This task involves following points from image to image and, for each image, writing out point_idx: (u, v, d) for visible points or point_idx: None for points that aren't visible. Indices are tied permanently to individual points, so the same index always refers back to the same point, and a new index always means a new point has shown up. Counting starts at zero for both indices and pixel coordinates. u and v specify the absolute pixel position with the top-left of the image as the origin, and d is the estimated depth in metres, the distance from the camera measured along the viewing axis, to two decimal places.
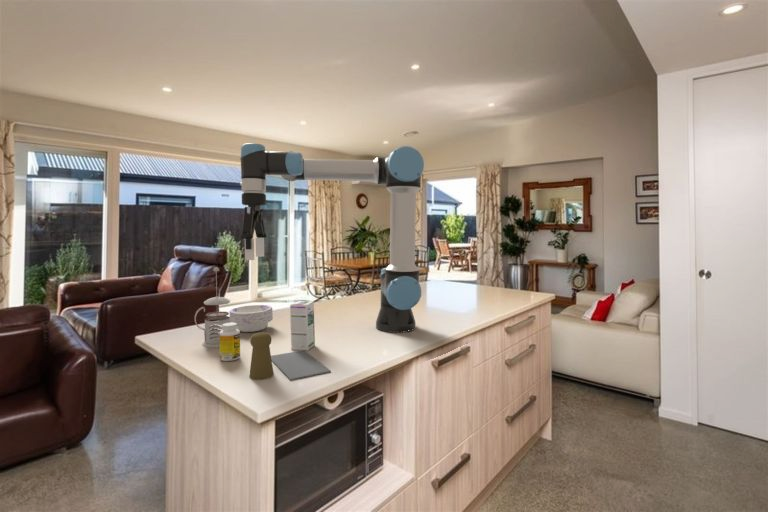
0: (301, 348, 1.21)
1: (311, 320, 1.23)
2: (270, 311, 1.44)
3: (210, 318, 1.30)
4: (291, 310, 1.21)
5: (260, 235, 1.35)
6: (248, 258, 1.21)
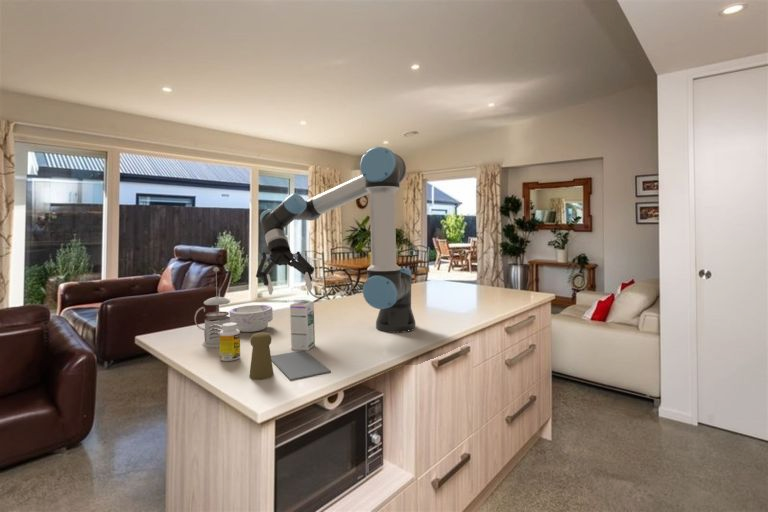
0: (301, 348, 1.21)
1: (311, 320, 1.23)
2: (270, 311, 1.44)
3: (210, 318, 1.30)
4: (291, 310, 1.21)
5: (306, 272, 1.39)
6: (269, 291, 1.28)
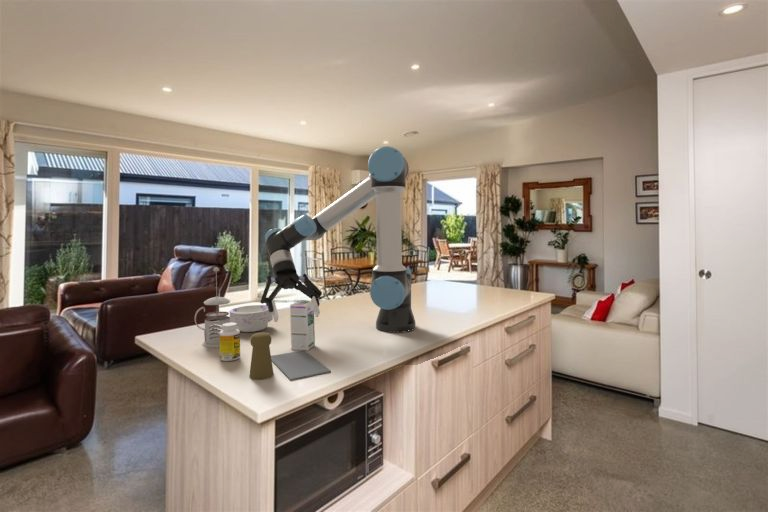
0: (301, 348, 1.21)
1: (311, 320, 1.23)
2: None
3: (210, 318, 1.30)
4: (291, 310, 1.21)
5: (313, 296, 1.32)
6: (274, 319, 1.21)
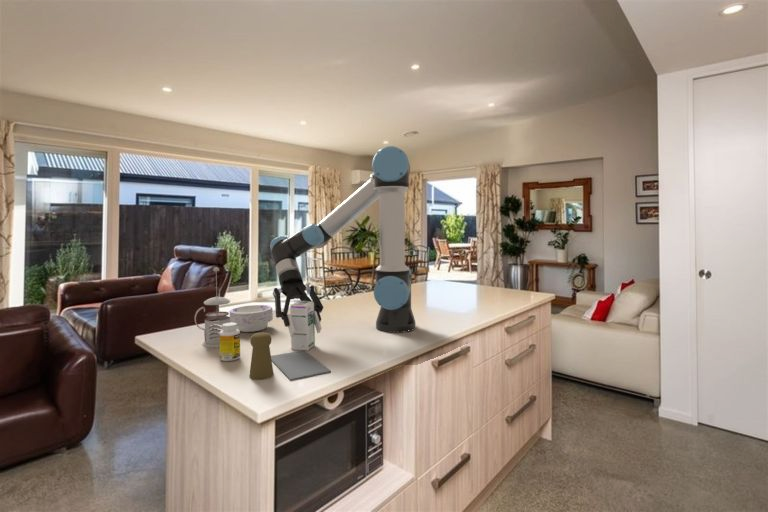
0: (301, 348, 1.21)
1: (311, 320, 1.23)
2: (270, 311, 1.44)
3: (210, 318, 1.30)
4: (291, 310, 1.21)
5: (314, 311, 1.27)
6: (291, 333, 1.18)
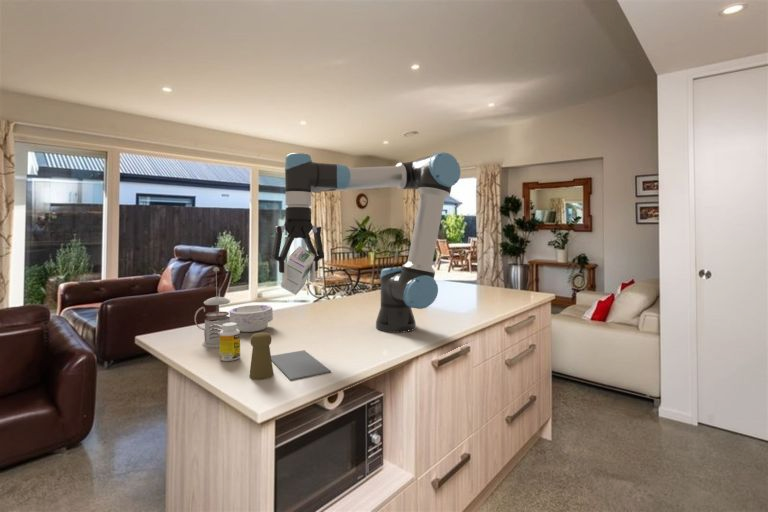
0: (290, 291, 1.21)
1: (307, 272, 1.18)
2: (270, 311, 1.44)
3: (210, 318, 1.30)
4: (289, 261, 1.13)
5: None
6: (283, 282, 1.15)
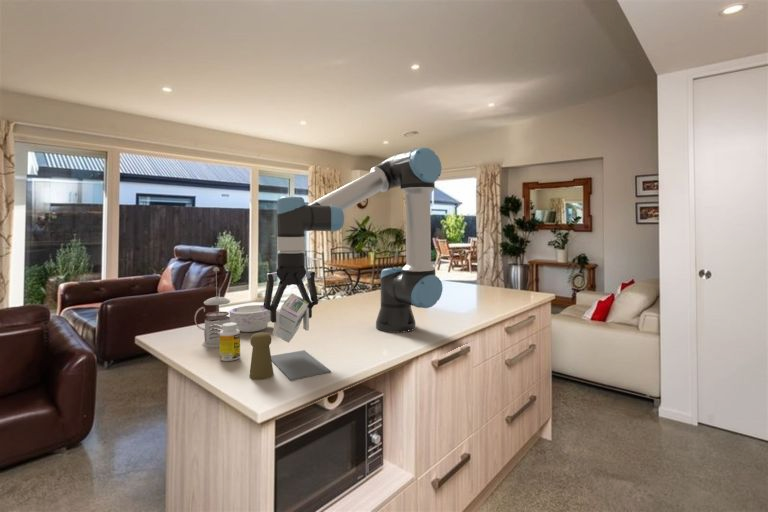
0: (282, 338, 1.15)
1: (300, 319, 1.12)
2: None
3: (210, 318, 1.30)
4: (281, 310, 1.07)
5: None
6: (275, 331, 1.09)
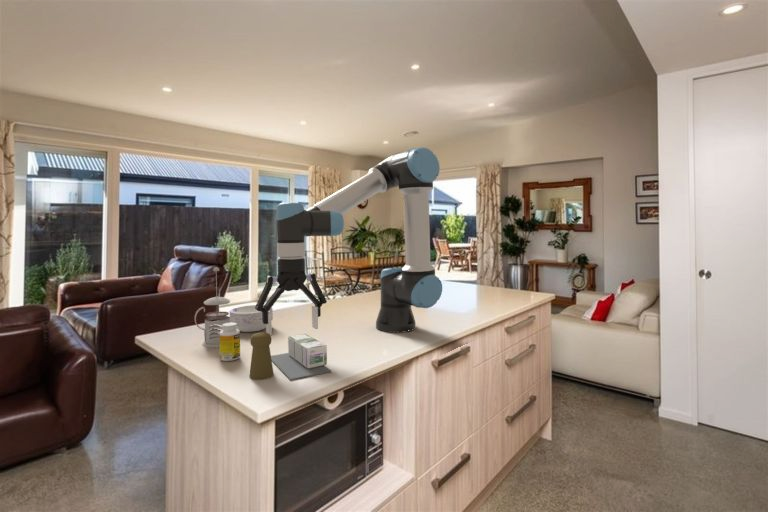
0: (288, 348, 1.14)
1: None
2: (270, 311, 1.44)
3: (210, 318, 1.30)
4: (304, 348, 1.04)
5: None
6: None
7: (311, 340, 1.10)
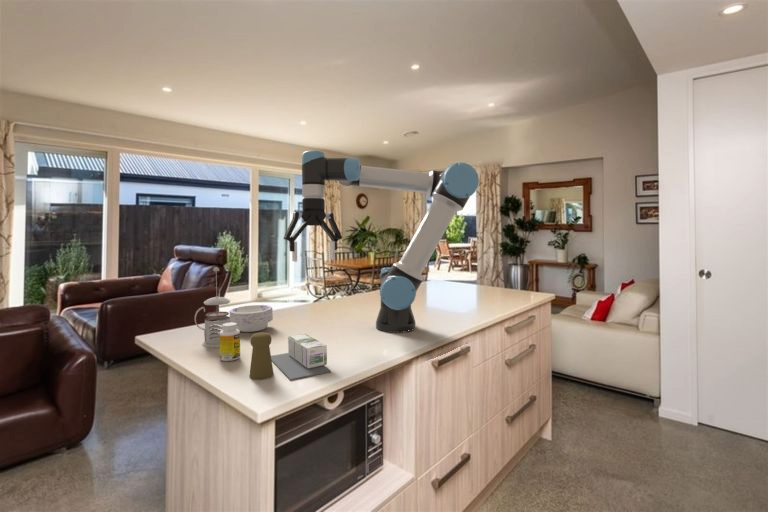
0: (288, 348, 1.14)
1: None
2: (270, 311, 1.44)
3: (210, 318, 1.30)
4: (304, 348, 1.04)
5: (333, 239, 1.37)
6: (293, 259, 1.30)
7: (311, 340, 1.10)
